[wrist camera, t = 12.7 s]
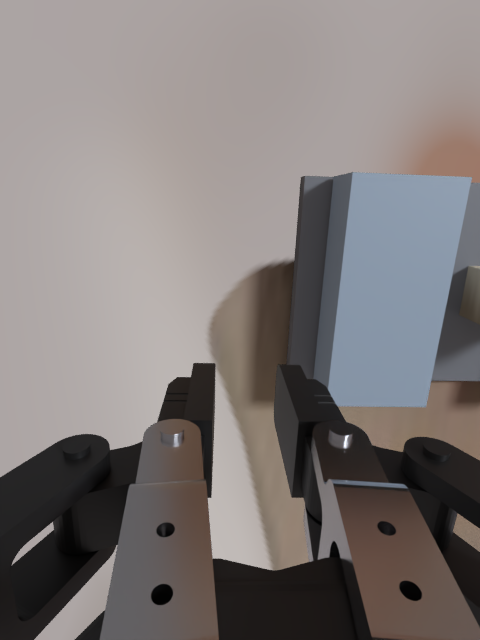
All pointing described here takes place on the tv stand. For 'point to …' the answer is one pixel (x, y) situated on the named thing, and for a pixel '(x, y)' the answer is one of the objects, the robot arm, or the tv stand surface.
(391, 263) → the vise jaw
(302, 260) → the panel
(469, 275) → the birch block
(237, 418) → the tv stand surface
